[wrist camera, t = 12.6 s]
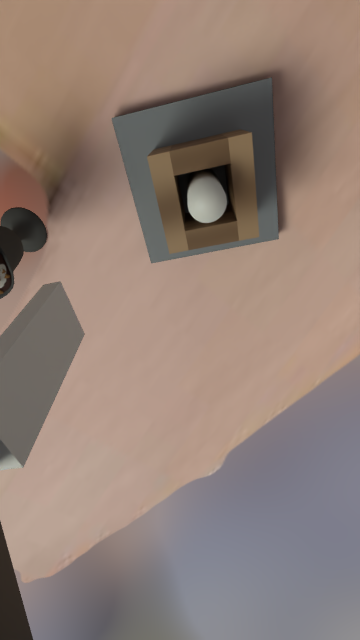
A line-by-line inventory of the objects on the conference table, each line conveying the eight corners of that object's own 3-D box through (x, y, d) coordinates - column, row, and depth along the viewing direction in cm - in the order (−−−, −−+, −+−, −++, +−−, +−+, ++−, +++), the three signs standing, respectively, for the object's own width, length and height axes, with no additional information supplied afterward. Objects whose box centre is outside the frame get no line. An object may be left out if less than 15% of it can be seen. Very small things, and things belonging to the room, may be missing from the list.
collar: (153, 149, 29) (146, 156, 24) (240, 129, 28) (251, 132, 23) (172, 233, 34) (169, 254, 29) (248, 218, 33) (259, 236, 28)
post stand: (114, 118, 29) (88, 119, 21) (268, 78, 27) (301, 64, 20) (152, 259, 37) (143, 297, 29) (276, 235, 35) (301, 269, 27)
